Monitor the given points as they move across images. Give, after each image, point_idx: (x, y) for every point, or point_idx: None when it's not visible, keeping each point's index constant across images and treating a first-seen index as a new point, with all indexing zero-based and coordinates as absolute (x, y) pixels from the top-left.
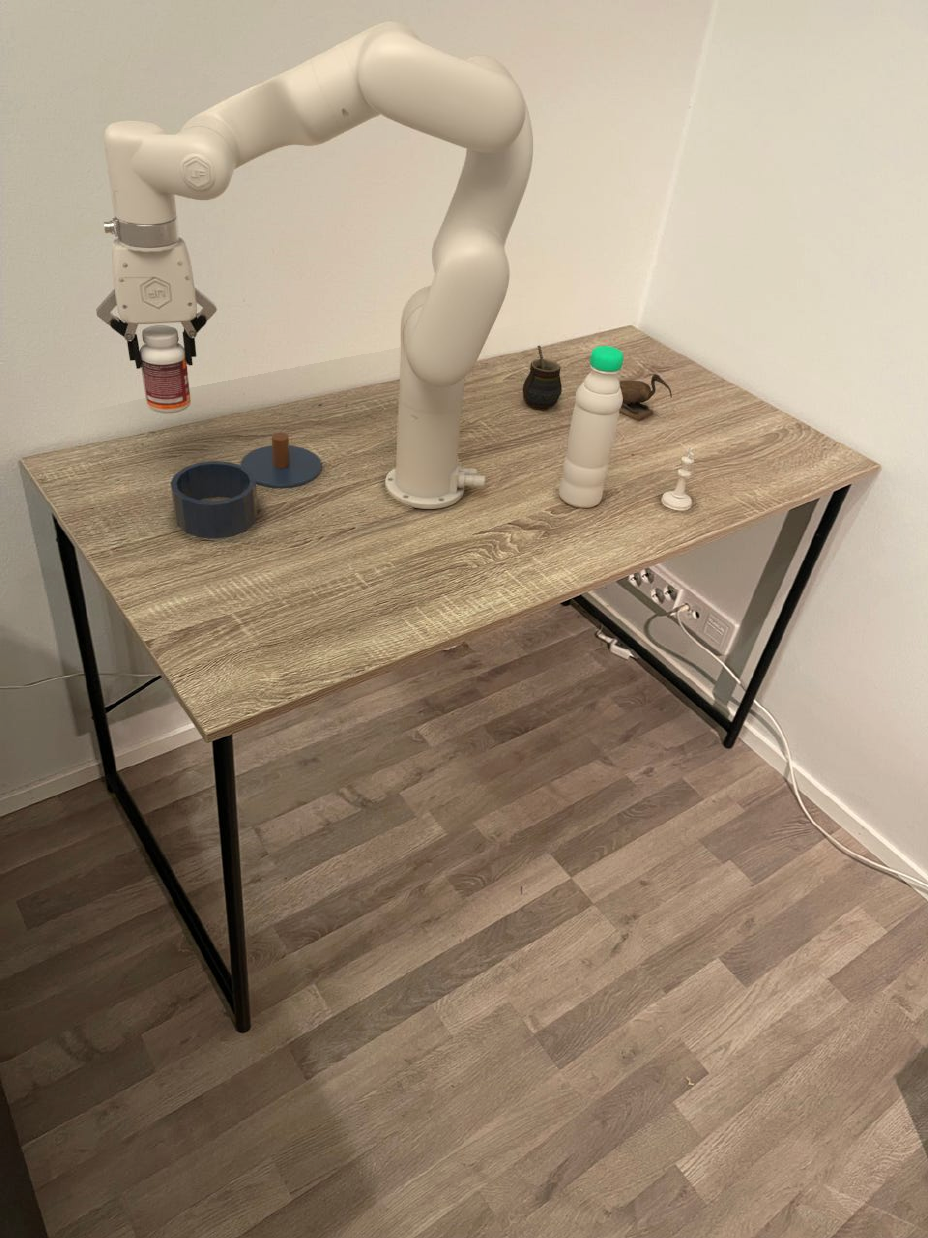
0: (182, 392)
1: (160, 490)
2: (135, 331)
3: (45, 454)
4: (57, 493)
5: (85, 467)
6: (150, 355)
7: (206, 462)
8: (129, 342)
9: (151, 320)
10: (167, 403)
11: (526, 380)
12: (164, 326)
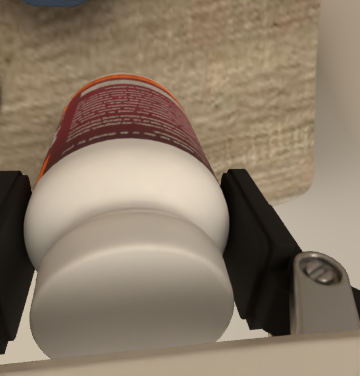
0: (76, 103)
1: (156, 56)
2: (298, 297)
3: (291, 193)
4: (308, 87)
5: (252, 152)
6: (199, 185)
7: (52, 2)
8: (295, 255)
9: (238, 365)
10: (134, 80)
11: None
12: None
